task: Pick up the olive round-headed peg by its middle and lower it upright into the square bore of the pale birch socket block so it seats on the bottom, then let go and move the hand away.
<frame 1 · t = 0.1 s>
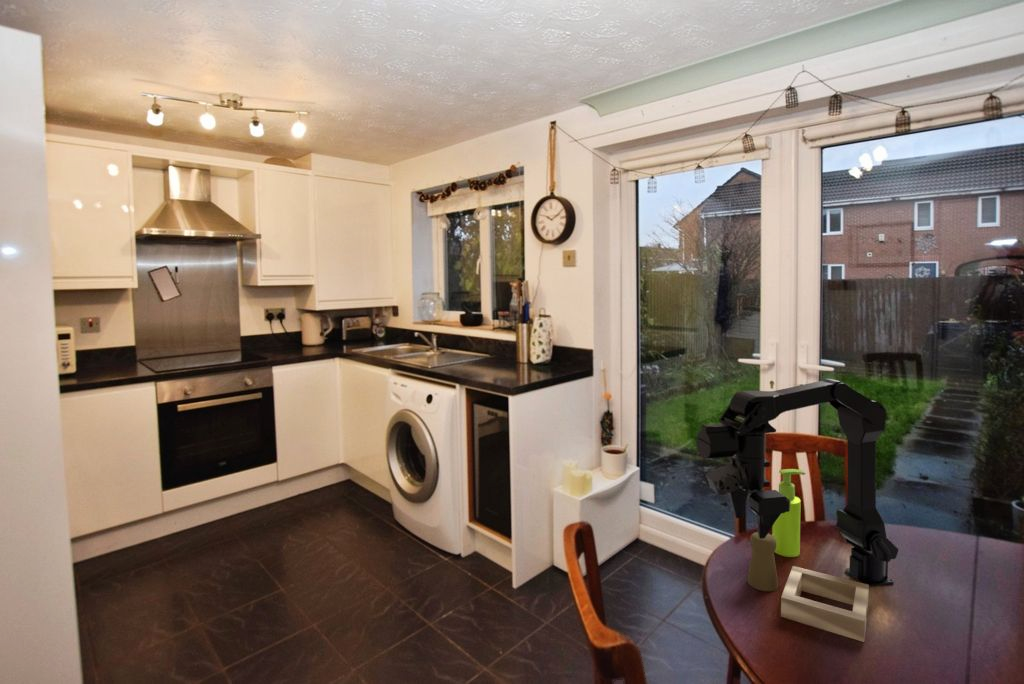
hand: (749, 527, 109), 14 cm above the table, tool pointing down, fingers open, 9 cm apart
olive round-headed peg: (762, 584, 114), on the table
socket block: (825, 610, 104), on the table
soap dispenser: (788, 551, 127), on the table
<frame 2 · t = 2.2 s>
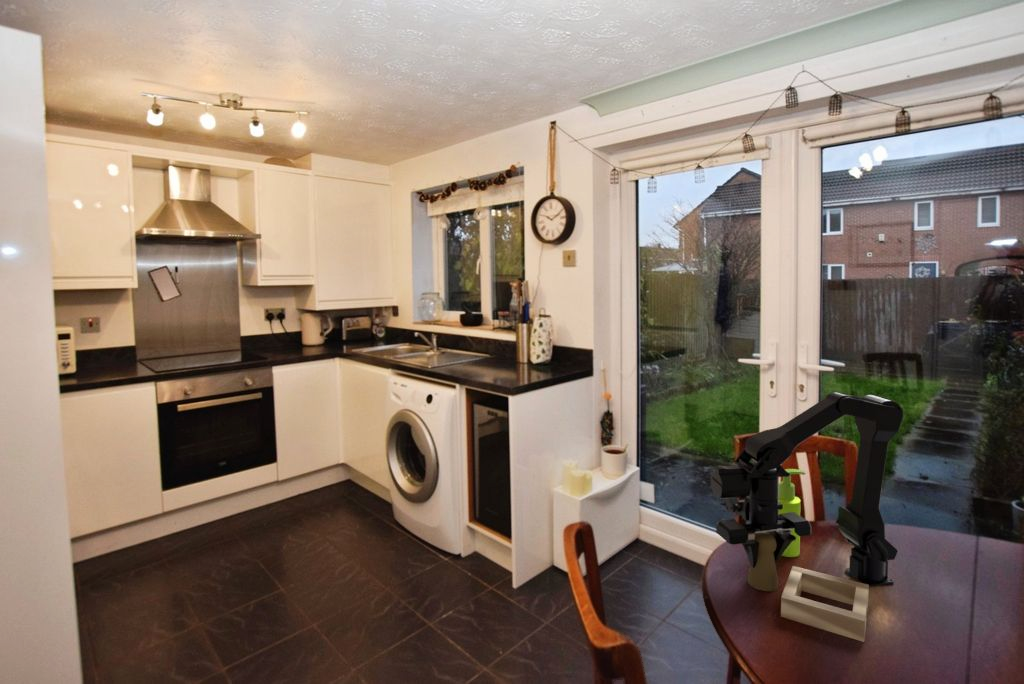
hand: (762, 565, 114), 4 cm above the table, tool pointing down, fingers closed on olive round-headed peg, 4 cm apart
olive round-headed peg: (762, 584, 114), on the table, touching gripper
everything else where it was.
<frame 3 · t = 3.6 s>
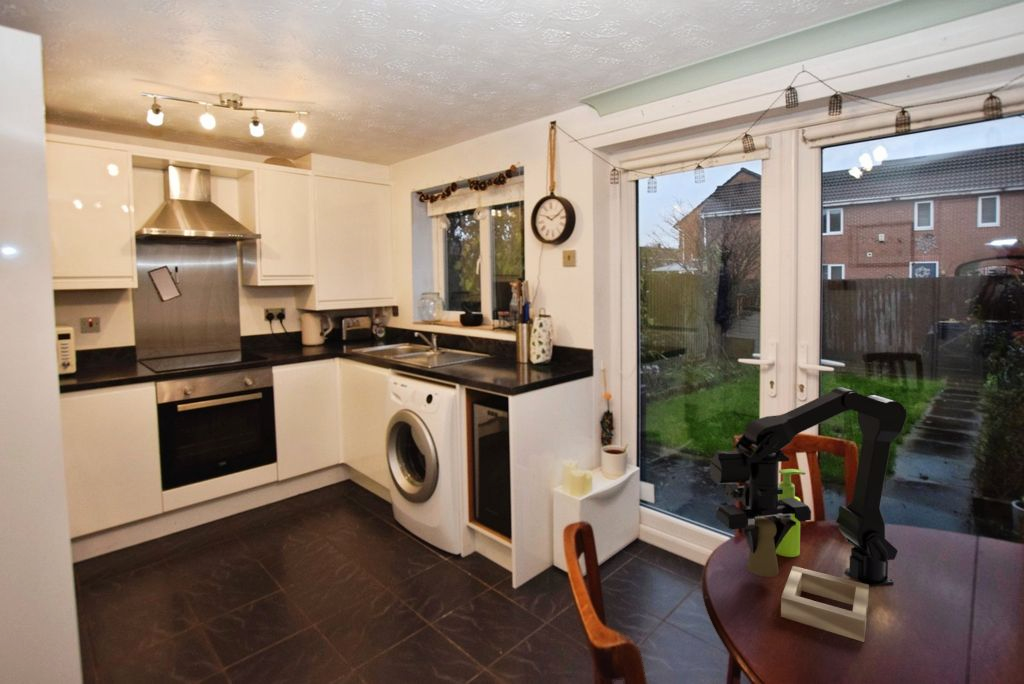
hand: (763, 551, 113), 7 cm above the table, tool pointing down, fingers closed on olive round-headed peg, 4 cm apart
olive round-headed peg: (762, 569, 114), point 3 cm above the table, touching gripper
everything else where it was.
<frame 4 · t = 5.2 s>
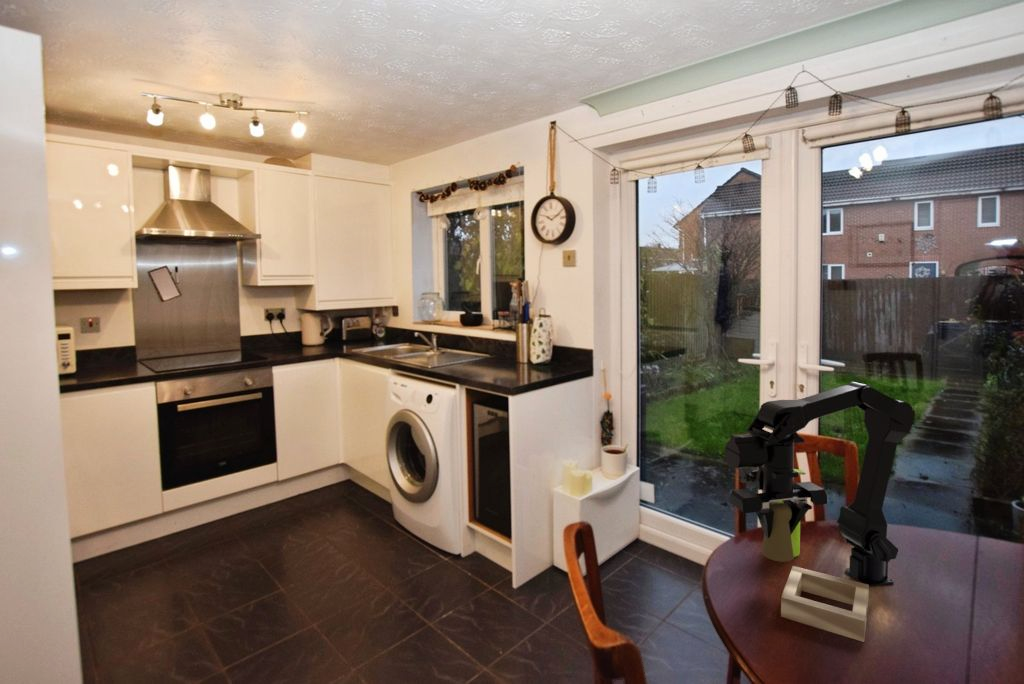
hand: (777, 536, 111), 12 cm above the table, tool pointing down, fingers closed on olive round-headed peg, 4 cm apart
olive round-headed peg: (777, 555, 111), point 8 cm above the table, touching gripper
everything else where it was.
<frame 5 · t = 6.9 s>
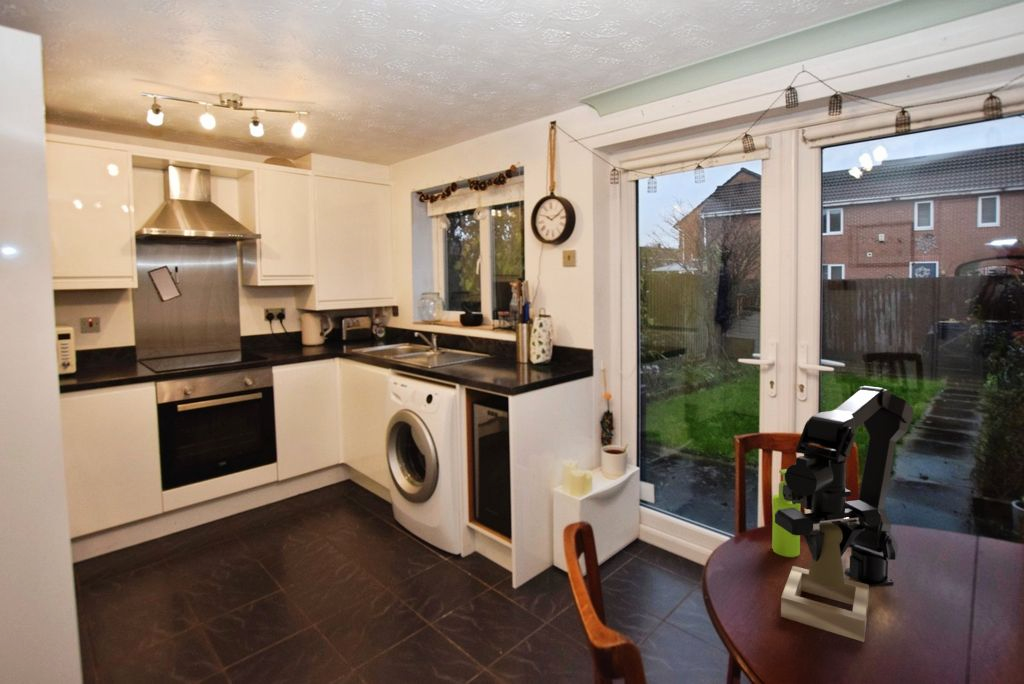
hand: (826, 558, 103), 11 cm above the table, tool pointing down, fingers closed on olive round-headed peg, 4 cm apart
olive round-headed peg: (826, 579, 104), point 6 cm above the table, touching gripper
everything else where it was.
when the fingers open (5 cm above the table, at t = 8.3 s): olive round-headed peg drops 1 cm, resting in socket block.
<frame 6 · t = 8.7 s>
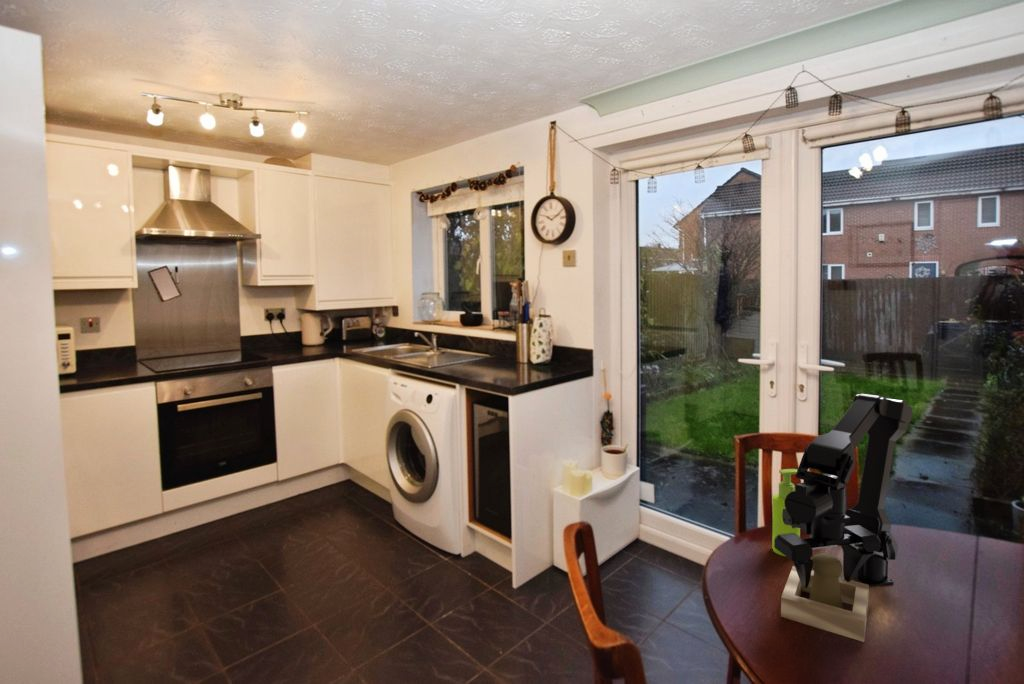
hand: (825, 583, 104), 5 cm above the table, tool pointing down, fingers open, 9 cm apart
olive round-headed peg: (825, 611, 104), resting in socket block
everything else where it was.
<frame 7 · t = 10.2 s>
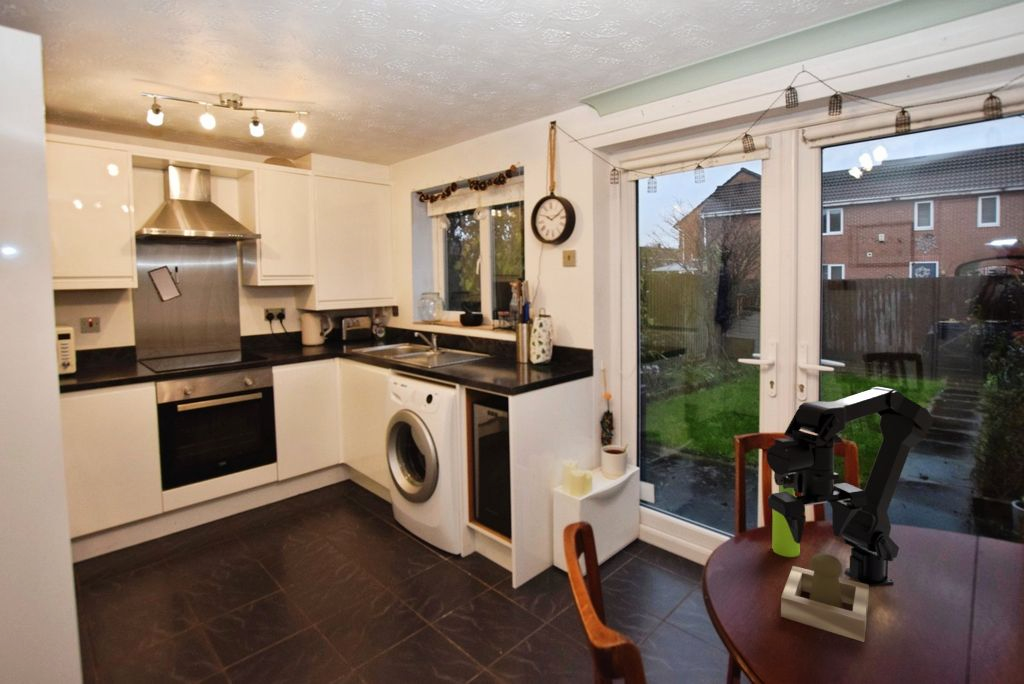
hand: (816, 539, 108), 12 cm above the table, tool pointing down, fingers open, 9 cm apart
nothing on the table moved.
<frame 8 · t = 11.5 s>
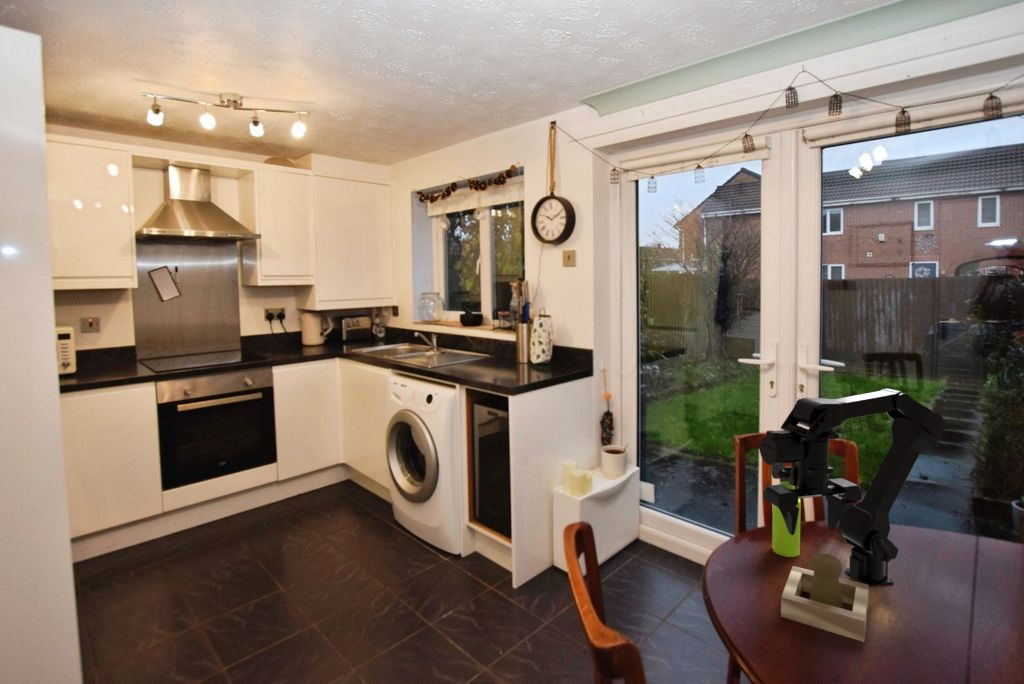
hand: (811, 531, 111), 12 cm above the table, tool pointing down, fingers open, 9 cm apart
nothing on the table moved.
at the end: olive round-headed peg 0.1 cm off-centre on the socket block, point 0.0 cm above the socket block's base; olive round-headed peg tilted 0°; the gripper is holding nothing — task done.
